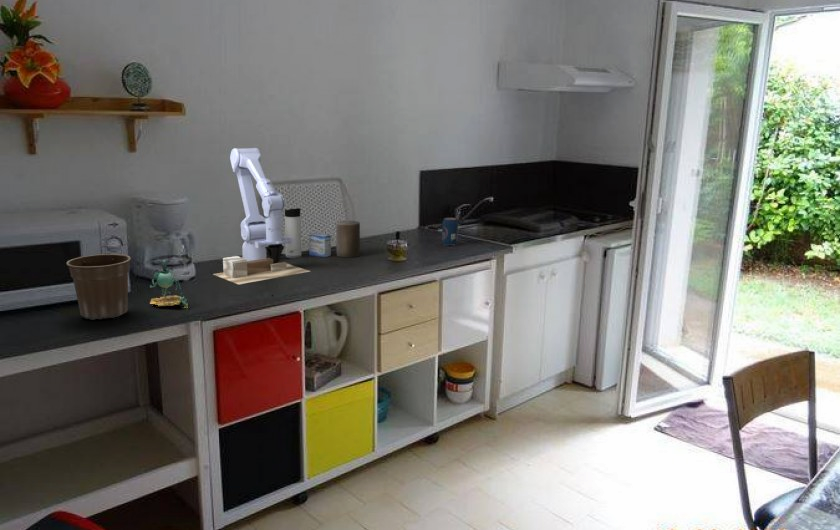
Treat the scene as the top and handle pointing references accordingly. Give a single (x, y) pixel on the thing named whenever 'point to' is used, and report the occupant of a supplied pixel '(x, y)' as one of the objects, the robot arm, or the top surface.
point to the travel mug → (293, 232)
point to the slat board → (238, 273)
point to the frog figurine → (165, 281)
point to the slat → (259, 265)
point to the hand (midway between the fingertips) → (274, 264)
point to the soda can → (449, 231)
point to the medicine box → (319, 245)
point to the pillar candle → (348, 239)
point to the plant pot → (101, 284)
